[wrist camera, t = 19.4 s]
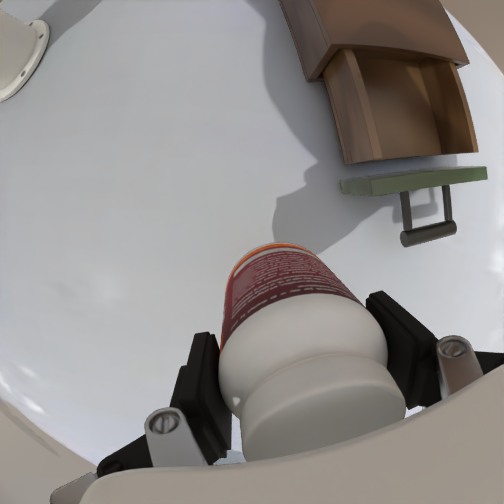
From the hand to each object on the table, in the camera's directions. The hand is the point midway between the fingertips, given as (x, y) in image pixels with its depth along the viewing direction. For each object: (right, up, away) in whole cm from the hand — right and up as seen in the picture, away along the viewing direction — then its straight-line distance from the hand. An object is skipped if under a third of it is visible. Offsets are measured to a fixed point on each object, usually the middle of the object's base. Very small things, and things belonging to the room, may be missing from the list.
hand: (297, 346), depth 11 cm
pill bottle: (0, +2, +6) cm, 6 cm away
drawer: (+12, +15, +11) cm, 22 cm away
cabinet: (+9, +28, +9) cm, 31 cm away
